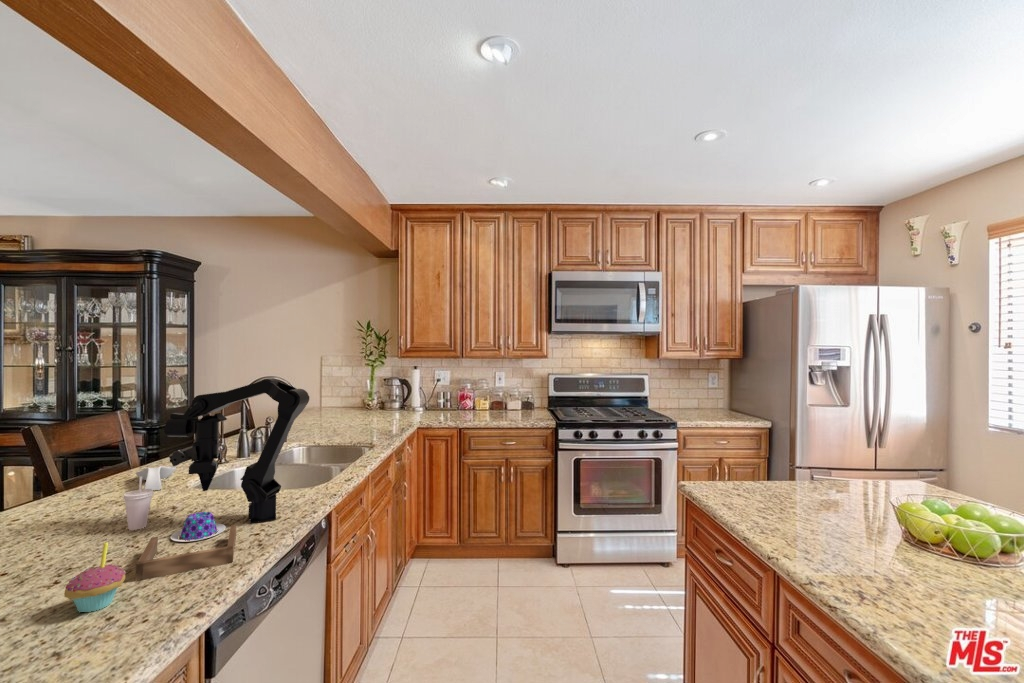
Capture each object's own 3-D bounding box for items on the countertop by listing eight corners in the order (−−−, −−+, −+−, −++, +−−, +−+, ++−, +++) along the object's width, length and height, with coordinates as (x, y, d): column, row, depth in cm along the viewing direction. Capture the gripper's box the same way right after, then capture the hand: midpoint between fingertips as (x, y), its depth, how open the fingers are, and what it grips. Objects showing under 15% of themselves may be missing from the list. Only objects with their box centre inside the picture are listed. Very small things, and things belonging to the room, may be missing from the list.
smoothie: (134, 533, 116) (136, 480, 117) (115, 531, 118) (117, 478, 118) (158, 524, 123) (160, 474, 123) (139, 522, 124) (141, 472, 124)
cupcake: (91, 594, 88) (93, 533, 88) (136, 593, 88) (138, 533, 89) (49, 620, 79) (52, 553, 79) (100, 619, 80) (102, 552, 80)
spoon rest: (136, 478, 166) (137, 459, 166) (175, 473, 173) (176, 455, 173) (131, 495, 147) (132, 473, 147) (175, 489, 154) (176, 468, 154)
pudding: (194, 547, 110) (195, 526, 110) (158, 541, 113) (159, 520, 113) (236, 528, 121) (236, 509, 121) (202, 523, 124) (202, 505, 125)
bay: (235, 538, 115) (236, 524, 115) (232, 562, 101) (233, 547, 102) (150, 552, 106) (151, 537, 106) (135, 581, 93) (135, 564, 93)
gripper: (177, 433, 132) (176, 485, 132) (166, 445, 116) (164, 505, 116) (221, 430, 138) (220, 480, 137) (216, 441, 121) (215, 498, 121)
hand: (205, 490), depth 128 cm, fingers closed
